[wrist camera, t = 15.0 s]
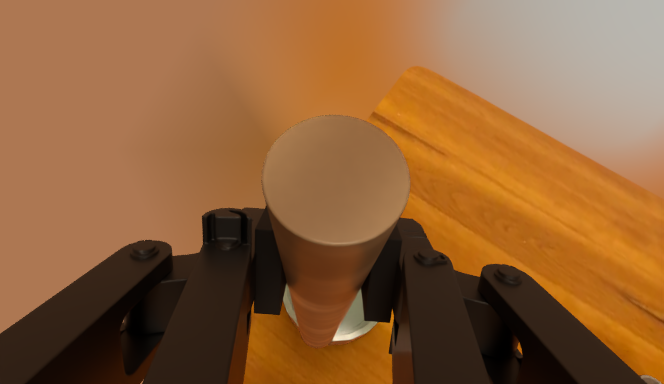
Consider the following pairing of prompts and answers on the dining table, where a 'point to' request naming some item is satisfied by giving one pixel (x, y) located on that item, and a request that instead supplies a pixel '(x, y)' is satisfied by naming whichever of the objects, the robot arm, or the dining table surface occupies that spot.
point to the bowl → (349, 327)
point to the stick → (332, 213)
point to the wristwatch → (649, 379)
